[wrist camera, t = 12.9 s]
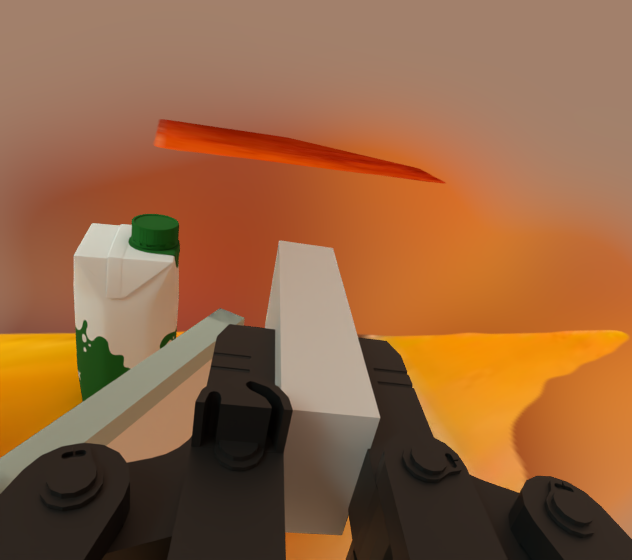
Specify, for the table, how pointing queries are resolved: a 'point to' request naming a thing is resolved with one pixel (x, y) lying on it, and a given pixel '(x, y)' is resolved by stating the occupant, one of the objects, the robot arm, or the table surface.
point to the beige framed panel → (135, 404)
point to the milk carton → (124, 296)
